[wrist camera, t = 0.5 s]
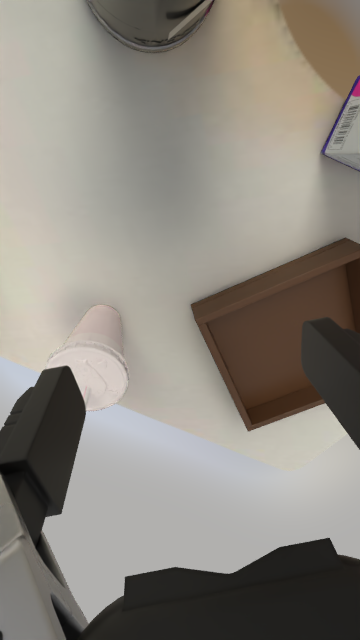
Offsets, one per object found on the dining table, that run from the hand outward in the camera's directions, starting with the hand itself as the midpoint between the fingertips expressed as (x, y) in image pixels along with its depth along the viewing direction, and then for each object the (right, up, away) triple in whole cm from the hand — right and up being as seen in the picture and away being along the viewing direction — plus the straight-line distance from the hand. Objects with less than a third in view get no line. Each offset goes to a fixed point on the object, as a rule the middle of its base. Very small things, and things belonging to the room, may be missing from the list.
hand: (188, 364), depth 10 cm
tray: (+12, 0, +24) cm, 27 cm away
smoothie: (-8, +2, +21) cm, 23 cm away
